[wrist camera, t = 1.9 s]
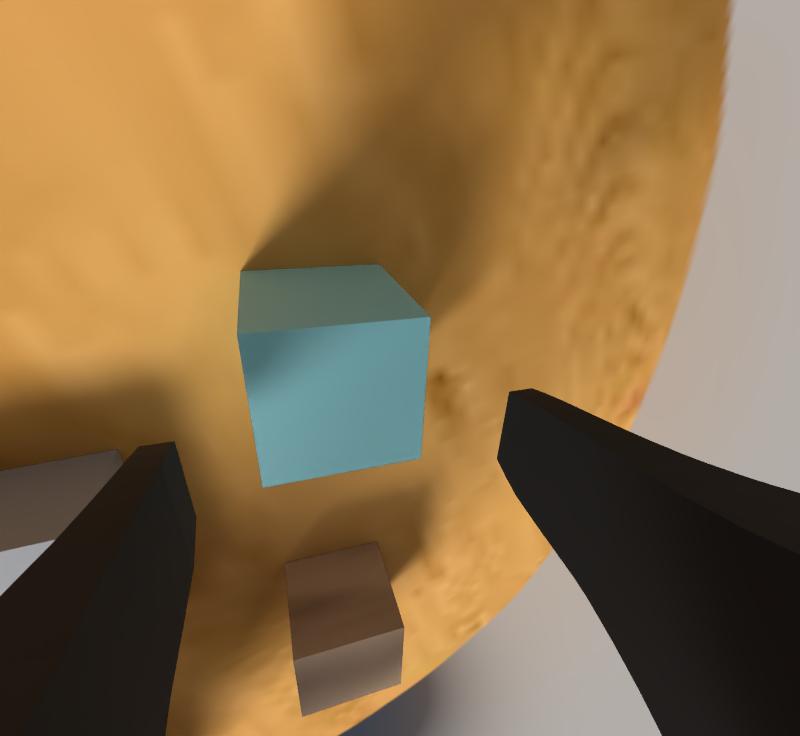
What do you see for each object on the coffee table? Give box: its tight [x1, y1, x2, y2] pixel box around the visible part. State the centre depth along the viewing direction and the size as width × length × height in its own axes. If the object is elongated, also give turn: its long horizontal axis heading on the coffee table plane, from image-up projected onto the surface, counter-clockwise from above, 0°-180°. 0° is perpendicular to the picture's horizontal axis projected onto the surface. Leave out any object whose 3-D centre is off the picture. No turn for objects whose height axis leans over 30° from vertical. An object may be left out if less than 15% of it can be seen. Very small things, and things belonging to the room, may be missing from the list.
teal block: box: [237, 264, 431, 488], centre depth 13 cm, size 4×4×5 cm
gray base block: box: [0, 449, 124, 596], centre depth 14 cm, size 8×8×4 cm
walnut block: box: [285, 542, 404, 717], centre depth 20 cm, size 4×4×4 cm
